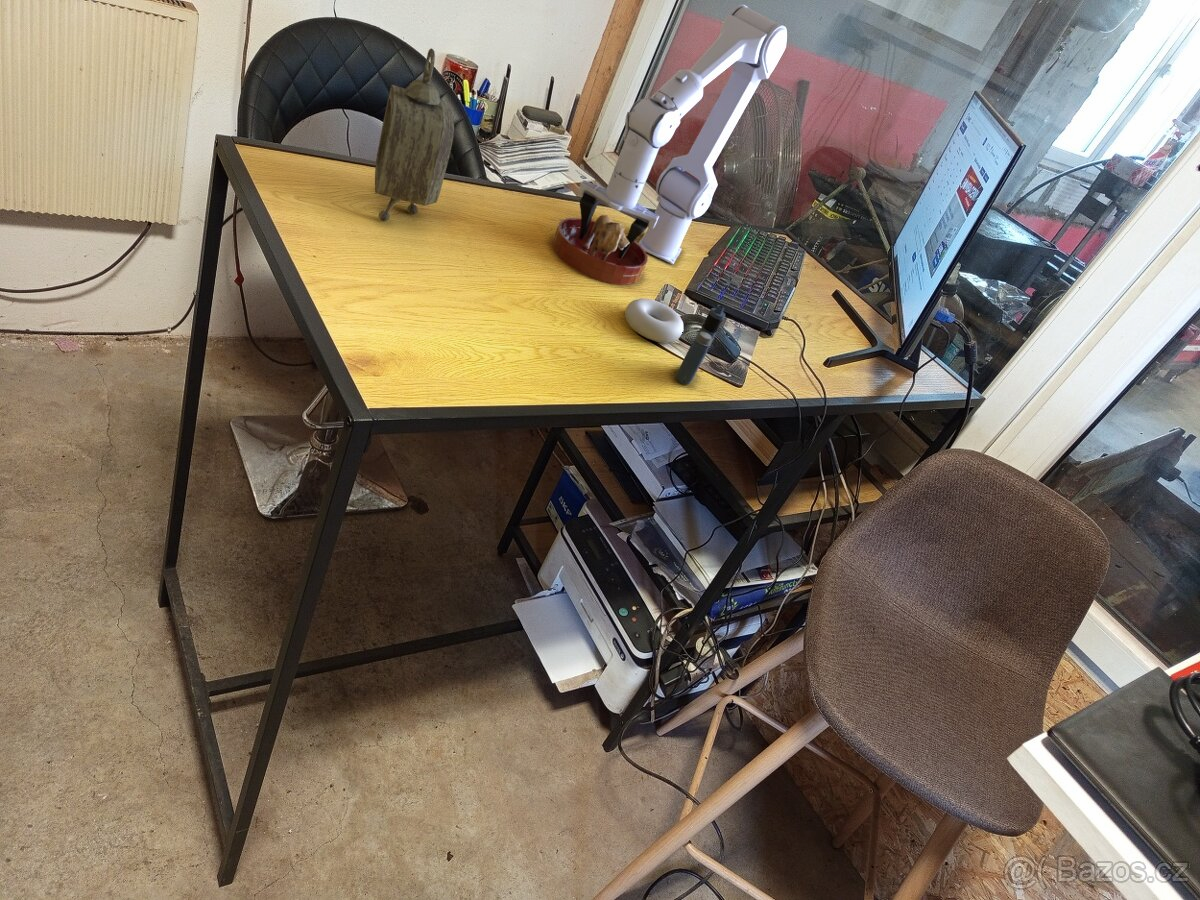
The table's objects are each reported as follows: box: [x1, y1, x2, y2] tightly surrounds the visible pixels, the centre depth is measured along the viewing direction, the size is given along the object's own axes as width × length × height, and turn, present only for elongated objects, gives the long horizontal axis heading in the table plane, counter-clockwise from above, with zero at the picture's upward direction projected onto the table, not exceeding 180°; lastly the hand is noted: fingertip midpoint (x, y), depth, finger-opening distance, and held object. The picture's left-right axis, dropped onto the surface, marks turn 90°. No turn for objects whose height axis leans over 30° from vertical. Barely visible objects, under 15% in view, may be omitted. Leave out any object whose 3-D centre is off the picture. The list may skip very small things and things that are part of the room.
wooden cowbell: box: [374, 48, 455, 222], centre depth 118 cm, size 14×9×25 cm, turn 14°
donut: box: [624, 298, 684, 344], centre depth 125 cm, size 10×3×10 cm
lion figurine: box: [583, 214, 629, 261], centre depth 137 cm, size 15×5×9 cm, turn 13°
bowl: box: [551, 217, 649, 286], centre depth 138 cm, size 17×17×4 cm
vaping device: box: [675, 304, 726, 386], centre depth 114 cm, size 3×5×12 cm, turn 161°
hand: (601, 247), depth 138 cm, fingers open, 7 cm apart
